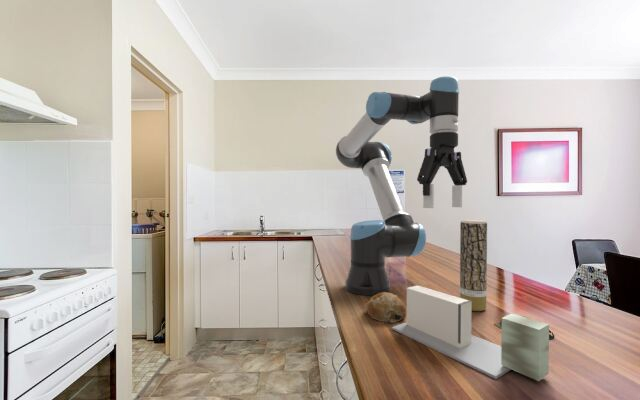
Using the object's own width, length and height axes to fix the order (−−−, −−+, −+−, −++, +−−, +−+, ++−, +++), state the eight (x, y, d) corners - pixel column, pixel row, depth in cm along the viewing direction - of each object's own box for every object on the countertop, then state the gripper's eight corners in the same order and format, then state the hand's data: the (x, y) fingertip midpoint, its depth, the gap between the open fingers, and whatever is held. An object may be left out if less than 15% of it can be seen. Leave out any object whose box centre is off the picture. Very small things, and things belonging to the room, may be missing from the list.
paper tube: (489, 313, 83) (490, 222, 83) (463, 311, 84) (463, 221, 84) (481, 304, 90) (482, 220, 89) (457, 302, 91) (457, 219, 91)
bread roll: (377, 337, 76) (387, 314, 73) (356, 308, 84) (364, 285, 81) (407, 330, 81) (417, 307, 78) (384, 302, 89) (392, 281, 86)
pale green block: (501, 364, 56) (501, 317, 56) (511, 358, 58) (512, 313, 58) (538, 381, 51) (539, 329, 51) (548, 373, 53) (549, 324, 53)
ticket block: (392, 329, 73) (392, 289, 73) (424, 318, 79) (424, 281, 79) (496, 379, 53) (496, 324, 53) (526, 358, 59) (527, 310, 59)
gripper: (427, 125, 77) (426, 208, 77) (480, 136, 91) (479, 207, 91) (404, 130, 83) (403, 207, 83) (456, 140, 97) (456, 206, 97)
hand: (443, 207), depth 87 cm, fingers open, 13 cm apart
